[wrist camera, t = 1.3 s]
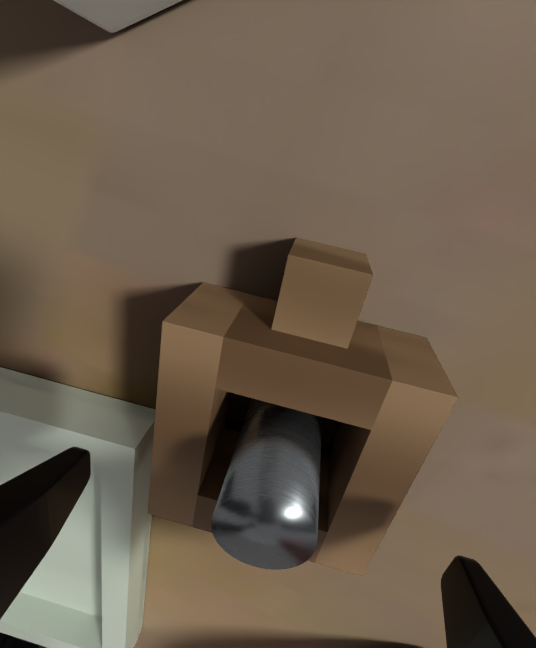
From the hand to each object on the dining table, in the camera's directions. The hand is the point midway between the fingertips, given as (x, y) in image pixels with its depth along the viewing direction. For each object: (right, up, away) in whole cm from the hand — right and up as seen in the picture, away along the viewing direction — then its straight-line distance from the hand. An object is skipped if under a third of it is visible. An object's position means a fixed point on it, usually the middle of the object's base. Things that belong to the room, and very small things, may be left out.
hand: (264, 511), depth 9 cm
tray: (-12, -4, +9) cm, 16 cm away
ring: (+1, +3, +3) cm, 5 cm away
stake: (+1, +2, +4) cm, 4 cm away
